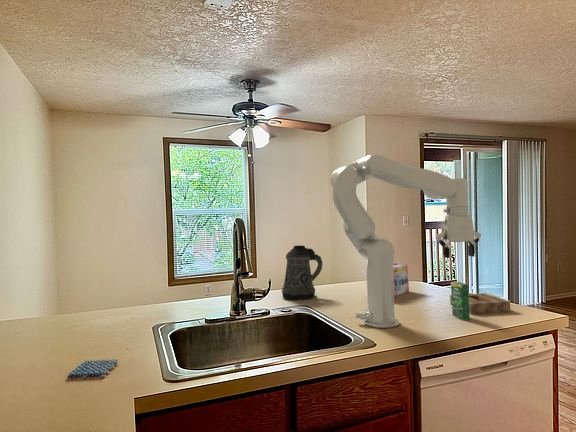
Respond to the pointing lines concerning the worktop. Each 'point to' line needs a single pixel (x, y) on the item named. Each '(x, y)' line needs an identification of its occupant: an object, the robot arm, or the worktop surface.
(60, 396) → the worktop surface
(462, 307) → the coffee box
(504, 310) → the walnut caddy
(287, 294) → the beer stein
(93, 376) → the woven mat
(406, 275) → the gum box
